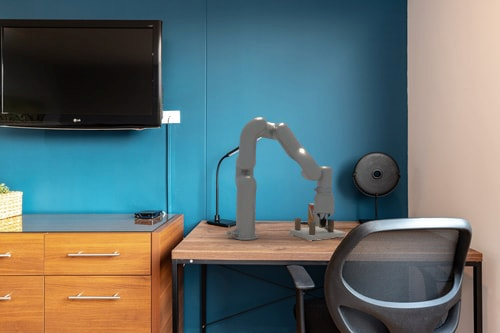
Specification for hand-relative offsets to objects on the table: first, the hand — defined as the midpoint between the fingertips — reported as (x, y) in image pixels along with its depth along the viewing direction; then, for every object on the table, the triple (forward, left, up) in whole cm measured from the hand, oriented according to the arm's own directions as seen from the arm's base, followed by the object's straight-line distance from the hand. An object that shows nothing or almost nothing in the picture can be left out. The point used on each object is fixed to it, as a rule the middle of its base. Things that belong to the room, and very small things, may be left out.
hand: (323, 226), depth 175 cm
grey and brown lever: (+5, +1, -2) cm, 6 cm away
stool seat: (-1, +3, -5) cm, 6 cm away
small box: (+15, +24, -6) cm, 29 cm away
